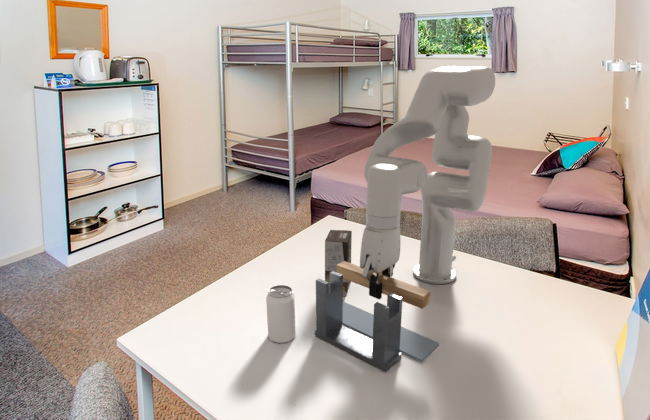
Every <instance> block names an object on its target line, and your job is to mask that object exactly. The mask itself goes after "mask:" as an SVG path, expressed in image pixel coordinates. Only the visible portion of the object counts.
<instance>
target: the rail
mask: <svg viewBox="0 0 650 420" xmlns="http://www.w3.org/2000/svg"><path fill="white" fill-rule="evenodd" d="M363 270H364V269H362V268H360V265H357V264H355V263H352V262H351V263H349V262H346V261H343V262H341V263H339V264H337V273H340V274H342V275H343V279H346V280H348V281H351V282H352V283H355V284H356V285H359V286H362V287H363V288H364V287H365V288H367V289H369V281H368V279H367V278H364V277H362V273H363ZM373 275H375V276H376V275H377V274H376V273H374V272H373ZM380 283H382V295H385V296H387V295H388V294H390V293H392V294H394V295H397V296H400V297H402V303H406V304H409V305H412V306H414V307H416V308H419V309H421V310H423V309H424V308H426V307H427V306H429V304H430V301H431V291H430V290H427V289H425V288H422V287H420V286H416V285H413V284H411V283H408V282H406V281H403V280H400V279H396V278H394V277H388V276H386V275H383V274H381V282H380Z"/></svg>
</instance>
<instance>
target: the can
mask: <svg viewBox="0 0 650 420" xmlns="http://www.w3.org/2000/svg"><path fill="white" fill-rule="evenodd" d="M265 301H266V303H265V304H266V321H267V333H268V334H267V336H268V339H269V340H270V341H271V342H273V343H275V344H286V343H289V342H291V341H292V340H293V339H295V337H296V334H297V333H296V331H297V330H296V308H295V307H296V304H295V302H296V301H295V294H294V293H293V288H292V287H290V286H288V285H282V284H281V285H280V284H278V285H274V286H271V287H270V288H268V290H267V295H266V300H265Z"/></svg>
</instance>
